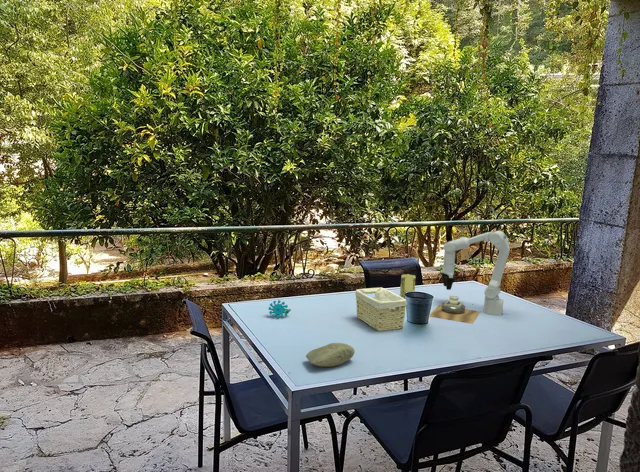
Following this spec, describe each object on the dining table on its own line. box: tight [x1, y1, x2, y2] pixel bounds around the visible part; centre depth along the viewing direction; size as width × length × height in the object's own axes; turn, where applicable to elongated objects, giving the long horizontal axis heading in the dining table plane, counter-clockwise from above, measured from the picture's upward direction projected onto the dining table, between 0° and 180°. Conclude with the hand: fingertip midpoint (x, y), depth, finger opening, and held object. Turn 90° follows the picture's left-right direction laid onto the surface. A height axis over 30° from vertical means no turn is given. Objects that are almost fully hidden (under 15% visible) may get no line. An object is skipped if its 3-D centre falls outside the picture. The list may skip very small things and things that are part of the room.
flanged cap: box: [448, 295, 460, 305], centre depth 274 cm, size 5×5×4 cm
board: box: [428, 304, 482, 325], centre depth 270 cm, size 22×24×1 cm
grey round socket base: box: [441, 299, 466, 314], centre depth 274 cm, size 12×12×4 cm
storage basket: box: [355, 286, 408, 332], centre depth 252 cm, size 24×16×15 cm
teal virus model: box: [268, 299, 292, 320], centre depth 258 cm, size 11×6×10 cm
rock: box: [305, 342, 355, 368], centre depth 201 cm, size 8×11×20 cm
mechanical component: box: [399, 273, 417, 299], centre depth 297 cm, size 8×17×20 cm, turn 175°
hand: (447, 287), depth 285 cm, fingers open, 7 cm apart
